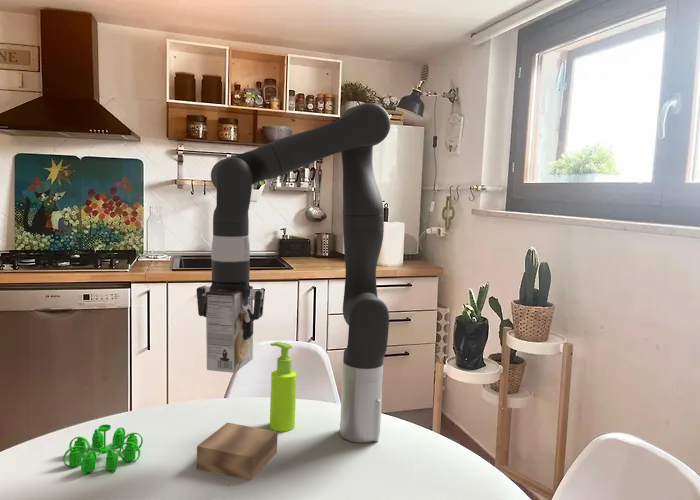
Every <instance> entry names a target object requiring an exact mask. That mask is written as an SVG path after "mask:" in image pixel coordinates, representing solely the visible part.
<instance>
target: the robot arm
mask: <svg viewBox="0 0 700 500" xmlns="http://www.w3.org/2000/svg"><path fill="white" fill-rule="evenodd" d="M390 130H391V118H390V115H389V113H388V112H387V110H386V109H385V108H384V107H383V106H381V105H380V104H377V103H373V102H365V103H361V104H358V105H356V106H352V107H350V108H347V110H345V111H344V112H343V114H342V115H341V117H340V118H339V119H337V120H334V121H331V122H330V123H327V124H324V125H322V126H318V127H315V128H312V129H308V130H306V131H305V130H304V131H302V132H297V133H294V134H291V135H289V136H285V137H282V138H279V139H276V140H273V141H271V142H268V143H266V144H263V145H260V146H259V147H257V148H255V149H253V150H249V151H245V152H242V153H239V154H236V155H232V156H230V157H229V156H228V157H226V158H223V159H221V160H219V161H217V162H216V163H215V164H214V165H213V167H212V169H211V172H210V180H211V183H212V185H213V186H214V187H215V189H216V204H215V205H216V206H215V209H214V210H213V214H212V215H213V217H212V240H211V242H212V243H211V252H210V257H211V285H210V286H206V285H201V286H199V287H197V288H196V300H197V302H196V303H197V312H198V316H200V317H204V318H206V292H208V291H211V290H214V289H225V290H239V291H243V299H244V300H245V299H247V298H248V296H249V295H250V294H251V295H252V299H253V300H254V301H253V313H252V311H251V309H250V305H249V304H247V306H245V307H244V306H243V305H242V312H243V318H244V320H245V322H244V340H248V339H250V337H251V336H252V335H253V336H254V321H256V320H259V319H260V318H261V317H263V313H264V302H265V294H266V293H265V291H266V290H265V289H263V288H259V289H257V288H256V289H255V288H253V289H251V287H250V286H251V285H250V257H251V256H250V253H251V251H250V248H251V247H250V246H251V245H250V237H249V230H250V229H249V227H250V226H249V225H250V224H249V223H250V222H249V209H250V204H251V198H252V192H253V191H252V190H253V185H255V184H257V183H260V182H262V181H265V180H272V179H276V178H278V177H281V176H283V175H286V174H289V173H291V172H294V171H297V170H299V169H302V168H303V167H306V166H308V165H310V164H313V163H315V162H317V161H320V160H323V159H324V158H327V157H330V156H333V155H335V154H339V153H341V163H342V235H343V254H344V264H345V265H344V267H345V276H344V277H345V278H344V280H345V281H344V289H343V291H344V292H343V301H342V316H343V320H344V321H345V323H346V324H347V326H348V334H347V335H348V336H347V346H346V347H345V349H343V357H342V358H343V360H342V361H343V362H342V379H341V381H342V382H341V397H340V399H341V403H340V418H339V419H340V422H339V436H340V437H342V438H343V439H344V440H346V441H349V442H353V443H359V444H362V443H371V442H379V438H380V433H381V424H382V406H383V405H382V404H383V391H382V388H383V374H384V373H383V372H384V371H383V370H384V359H385V358H384V357H385V355H386V353H387V349H388V341H389V340H388V339H389V329H390V314H389V310H388V307H387V305H386V304H385V302H384V301H383V300H382V299H380V298H379V295H378V289H377V267H378V260H379V257H380V253H381V250H382V246H383V241H384V233H385V232H384V231H385V230H384V228H385V223H384V219H385V218H384V213H385V212H384V203H383V199H382V195H381V193H380V189H379V187H378V184H377V181H376V178H375V174H374V168H373V152H374V147H375V146H377V145H379V144H381V143H382V142H383V141H384V140H385V139H386V138H387V136H388V135H389V133H390Z"/></svg>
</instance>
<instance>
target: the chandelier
mask: <svg viewBox="0 0 700 500" xmlns="http://www.w3.org/2000/svg"><path fill="white" fill-rule="evenodd" d="M111 427H112V426H111V425H110V424H102V425H99V426H98V428H96V429H94V431H93V434H92V437H91V444H90V442H89V441H88V439H86V437H84V436H75V437H74V438H73V439H71V440H70V441H69V445H68V446H69V447H68V449H67V450H66V451H65V452H64V454H63V457H62V460H63V464H64V465H65V466H66V467H67V468H69V469H70V468H73V467H77V466H80V471H81V474H83V475H85V476H87V475H88V474H89V473H91V472H93V471H94V470H95V469H96V463H97V457H99V456H100V455H101V454H103V455H106V458H105V469H106V470H108V471H111V473H114V472H116V470H117V468H118V466H119V457H120V459H121V460H122V461H123V462H132V463H135V462H136V461H138V460H139V458H140V457H141V447H142V445H143V443H144V441H143V440H144V439H143V437H142V435H141V434H140V433H138V432H136V431H135V432H130V433H127V434H126V430H125V428H124V427H118V428H116V430H115V431H114V432H113V436H112V442H111V443H110V444H109V445H108V446H107V445H106V444H107V443H106V442H107V440H106V439H107V437H106V436H107V435H106V432H108V431H110V430H111ZM137 435H138V436H139V437H140V439H141V441H140V443H138V442H139V440H138V436H137ZM76 439H77V440H76ZM74 440H75V441H74ZM125 440H126V441H125ZM73 441H74V444H73ZM72 444H73V445H72ZM86 445H87V446H86ZM124 445H125V446H124ZM110 446H112V447H110ZM118 449H119V450H118ZM94 450H95V451H94ZM122 451H123V453H122ZM117 452H118V453H117ZM136 452H138V453H137V454H138V455H137V454H136ZM68 453H69V456H68V463H69V464H67V463H66V459H65V458H66V457H67V455H68ZM97 453H98V454H97ZM118 454H119V456H118ZM136 455H137V458H136Z"/></svg>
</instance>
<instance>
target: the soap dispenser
mask: <svg viewBox="0 0 700 500" xmlns="http://www.w3.org/2000/svg"><path fill="white" fill-rule="evenodd" d="M270 346H271V347H278V348H281V349H280V350H281V351H280V356H279V357H277V359H276V361H277V363H276V369H274V370H273V371H271V377H270V379H271V381H270V405H269V406H270V407H269V408H270V409H269V429H271V431H276V432H281V433H283V432H284V433H285V432H290V431H292V430H293V429H294V428H295V425H296V424H295V423H296V401H297V400H296V398H297V395H296V393H297V371H295V370H293V369H292V367H293V366H292V363H293V358H292V357H290V356H289V350H290V349H292V348H293V345H292V344H288V343H287V342H283V341H276V342H272V343H270Z"/></svg>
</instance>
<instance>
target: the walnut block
mask: <svg viewBox="0 0 700 500" xmlns="http://www.w3.org/2000/svg"><path fill="white" fill-rule="evenodd" d="M278 435H279V434H278V431H274V430H272V429H271V430H270V429H265V428H259V427H255V426H249V425H243V424H238V423H232V422H226V423H225V424H223V425H222V426H220V427H219V428H218V429H217V430H216V431H214V432H213V433H211V435H210V436H208V437H206V438H205V439H204V440H203V441H201V443H199V444H198V445H197V446H196V468H195V469H196V470H200V471H205V472H210V473H214V474H220V475H224V476H227V477H228V476H229V477H234V478H239V479H243V480H248V481H253V479H254V478H255V477H256V476H257V475H258V474H259V473H260V472H261V470H262V469H264V467H266V465H267V464H268V463H269V461H271V460H272V458H274V456H275V455H276V454H277V453H278Z"/></svg>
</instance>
